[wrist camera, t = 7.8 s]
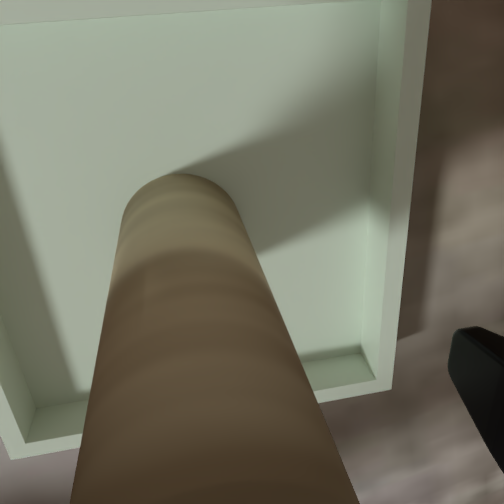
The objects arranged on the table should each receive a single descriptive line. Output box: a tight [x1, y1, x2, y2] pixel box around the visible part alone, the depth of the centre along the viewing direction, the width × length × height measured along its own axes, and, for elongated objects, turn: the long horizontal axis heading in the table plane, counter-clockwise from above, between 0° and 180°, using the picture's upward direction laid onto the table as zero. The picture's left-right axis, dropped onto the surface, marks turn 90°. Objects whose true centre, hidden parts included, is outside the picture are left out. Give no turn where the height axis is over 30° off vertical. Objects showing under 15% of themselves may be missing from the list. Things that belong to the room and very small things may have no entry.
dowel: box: [70, 174, 360, 504], centre depth 10 cm, size 4×4×10 cm
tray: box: [0, 0, 432, 460], centre depth 14 cm, size 13×13×2 cm
